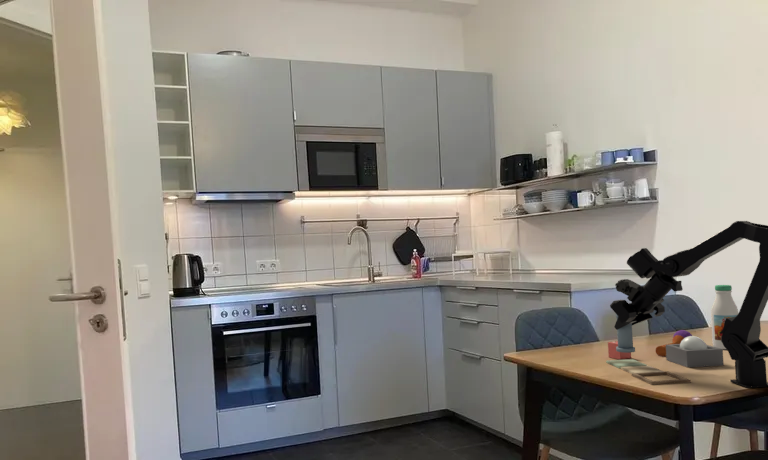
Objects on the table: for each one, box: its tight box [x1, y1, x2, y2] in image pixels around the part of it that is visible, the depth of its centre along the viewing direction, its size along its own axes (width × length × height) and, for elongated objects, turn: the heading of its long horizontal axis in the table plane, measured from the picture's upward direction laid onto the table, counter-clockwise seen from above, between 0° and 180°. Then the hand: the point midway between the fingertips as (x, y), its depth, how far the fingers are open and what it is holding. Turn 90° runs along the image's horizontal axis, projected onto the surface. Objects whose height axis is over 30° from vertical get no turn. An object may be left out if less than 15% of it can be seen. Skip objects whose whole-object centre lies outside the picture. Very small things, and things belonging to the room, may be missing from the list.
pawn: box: [615, 313, 636, 353], centre depth 164 cm, size 5×5×12 cm
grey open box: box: [665, 343, 725, 368], centre depth 163 cm, size 10×10×4 cm
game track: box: [605, 358, 691, 386], centre depth 154 cm, size 27×10×1 cm, turn 4°
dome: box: [680, 335, 708, 350], centre depth 163 cm, size 7×7×7 cm
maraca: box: [655, 329, 693, 357], centre depth 180 cm, size 6×6×20 cm
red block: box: [607, 340, 632, 360], centre depth 174 cm, size 4×4×5 cm
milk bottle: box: [710, 284, 739, 350], centre depth 182 cm, size 8×8×20 cm
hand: (620, 327), depth 165 cm, fingers closed on pawn, 4 cm apart
